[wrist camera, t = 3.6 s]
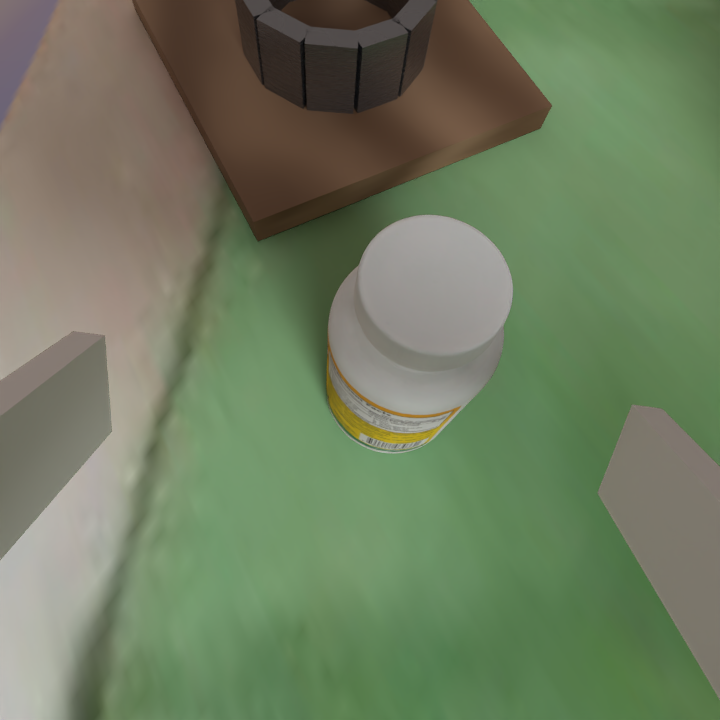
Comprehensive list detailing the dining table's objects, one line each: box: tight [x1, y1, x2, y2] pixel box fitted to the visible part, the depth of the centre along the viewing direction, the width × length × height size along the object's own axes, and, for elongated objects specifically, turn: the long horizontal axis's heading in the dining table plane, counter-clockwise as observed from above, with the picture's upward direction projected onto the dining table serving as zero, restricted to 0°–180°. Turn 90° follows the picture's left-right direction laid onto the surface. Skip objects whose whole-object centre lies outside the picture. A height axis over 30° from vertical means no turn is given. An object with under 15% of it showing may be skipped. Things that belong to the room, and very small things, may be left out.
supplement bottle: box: [326, 215, 513, 453], centre depth 18 cm, size 5×5×10 cm
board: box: [132, 0, 552, 241], centre depth 27 cm, size 16×16×2 cm
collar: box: [235, 0, 437, 114], centre depth 25 cm, size 9×9×4 cm
